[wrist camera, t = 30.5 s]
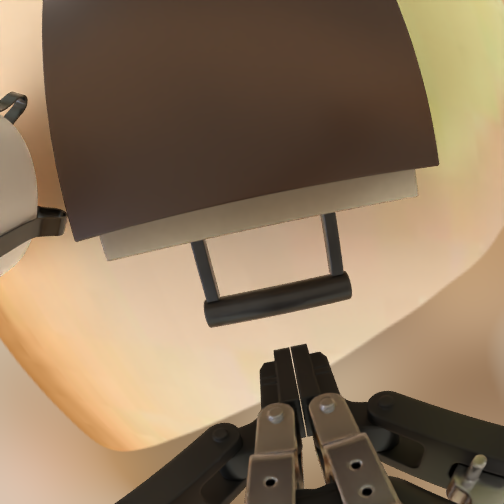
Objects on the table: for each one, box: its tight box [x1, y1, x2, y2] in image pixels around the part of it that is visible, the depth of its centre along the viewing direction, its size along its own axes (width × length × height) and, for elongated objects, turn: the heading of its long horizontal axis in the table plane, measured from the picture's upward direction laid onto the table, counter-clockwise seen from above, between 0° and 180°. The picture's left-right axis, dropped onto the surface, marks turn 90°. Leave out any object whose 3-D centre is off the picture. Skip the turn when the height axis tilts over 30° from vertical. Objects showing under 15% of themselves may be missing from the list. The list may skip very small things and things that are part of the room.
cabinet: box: [42, 0, 439, 242], centre depth 12 cm, size 17×14×9 cm
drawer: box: [99, 169, 418, 328], centre depth 14 cm, size 20×13×7 cm, turn 12°
